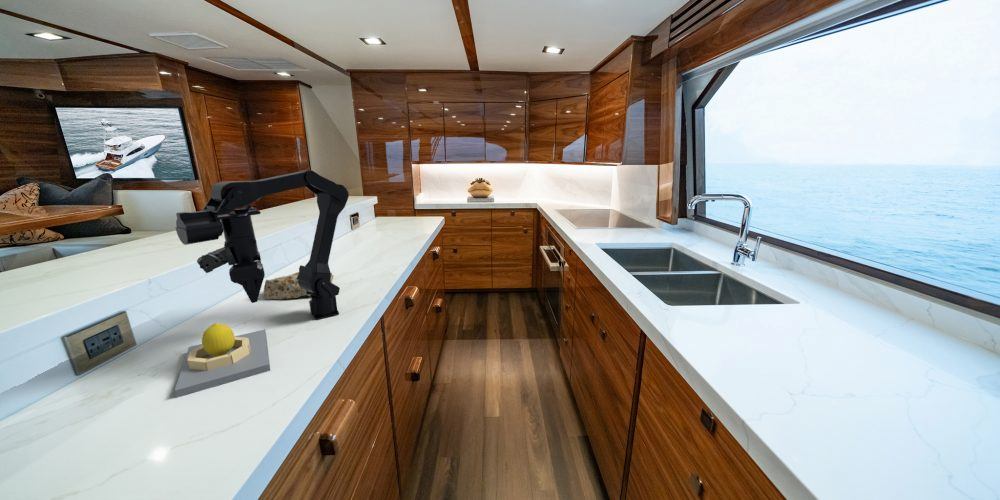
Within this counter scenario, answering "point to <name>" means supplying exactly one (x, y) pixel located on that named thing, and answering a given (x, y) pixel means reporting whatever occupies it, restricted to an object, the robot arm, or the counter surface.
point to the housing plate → (223, 364)
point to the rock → (284, 287)
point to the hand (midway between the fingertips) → (253, 296)
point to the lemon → (218, 339)
